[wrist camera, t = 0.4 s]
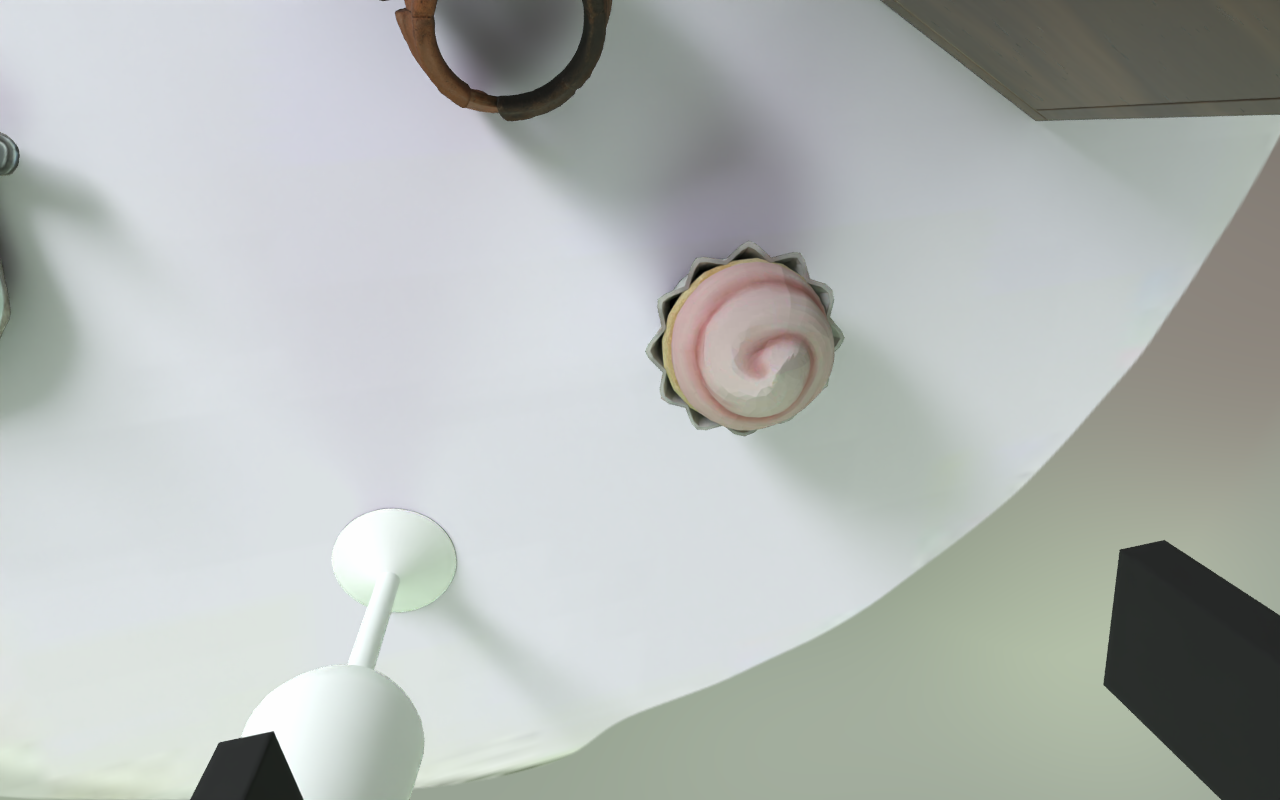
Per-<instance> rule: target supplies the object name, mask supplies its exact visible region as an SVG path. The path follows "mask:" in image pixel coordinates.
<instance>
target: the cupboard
mask: <svg viewBox="0 0 1280 800" xmlns="http://www.w3.org/2000/svg"><path fill="white" fill-rule="evenodd" d="M881 1H882V2H883V3H885V4H886V5H887V6H889V7H890V8H891V9H892V10H894V11H895V12H896V13H898V14H899V15H900V16H901V17H903V18H904V19H905V20H907V21H908V22H909V23H910V24H912V25H913V26H914V27H916V28H917V29H918V30H919V31H921V32H922V33H923V34H925V35H926V36H927V37H928V38H930V39H931V40H932V41H934V42H935V43H936V44H937V45H939V46H940V47H941V48H943V49H944V50H945V51H946V52H948V53H949V54H950V55H952V56H953V57H954V58H956V59H957V60H958V61H959V62H961V63H962V64H963V65H965V66H966V67H967V68H968V69H970V70H971V71H972V72H974V73H975V74H976V75H977V76H979V77H980V78H981V79H983V80H984V81H985V82H986V83H988V84H989V85H990V86H992V87H993V88H994V89H995V90H997V91H998V92H999V93H1001V94H1002V95H1003V96H1004V97H1006V98H1007V99H1008V100H1010V101H1011V102H1012V103H1014V104H1015V105H1016V106H1017V107H1019V108H1020V109H1021V110H1023V111H1024V112H1025V113H1026V114H1028V115H1029V116H1030V117H1032V118H1033V119H1034V120H1035V121H1048V120H1049V121H1055V120H1093V119H1131V118H1169V117H1207V116H1244V115H1280V0H881Z"/></svg>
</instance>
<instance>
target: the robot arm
mask: <svg viewBox="0 0 1280 800" xmlns="http://www.w3.org/2000/svg"><path fill="white" fill-rule="evenodd" d="M1104 686H1105V687H1106V688H1107V689H1108V690H1109V691H1110V692H1111V693H1113V694H1114V695H1115V696H1116V697H1117V698H1118V699H1119V700H1120V701H1121V702H1122V703H1123V704H1124V705H1125V706H1126V707H1127V708H1128V709H1129V710H1130V711H1131V712H1132V713H1133V714H1134V715H1135V716H1136V717H1137V718H1138V719H1139V720H1141V722H1142V723H1143V724H1144V725H1145V726H1146V727H1147V728H1149V729H1150V731H1152V732H1153V733H1154V734H1155V735H1156V736H1157V737H1158V738H1159V739H1160V740H1161V741H1162V742H1163V743H1164V744H1165V745H1166V746H1167V747H1168V748H1169V749H1170V750H1171V751H1172V752H1173V753H1174V754H1175V755H1176V756H1177V757H1178V758H1179V759H1180V760H1181V761H1182V762H1183V763H1184V764H1185V765H1186V766H1187V767H1188V768H1189V769H1190V770H1191V771H1193V773H1194V774H1196V775H1197V776H1198V777H1199V778H1200V779H1201V780H1202V781H1203V782H1204V783H1205V784H1206V785H1207V786H1208V787H1209V788H1210V789H1211V790H1212V791H1213V792H1214V793H1215V794H1216V795H1217V796H1218V797H1219V798H1220V799H1221V800H1280V615H1278V614H1277V613H1275V612H1274V611H1272V610H1270V609H1269V608H1268V607H1266V606H1264V605H1263V604H1261V603H1260V602H1258V601H1257V600H1255V599H1254V598H1252V597H1251V596H1249V595H1248V594H1246V593H1244V592H1243V591H1241V590H1240V589H1238V588H1237V587H1235V586H1234V585H1232V584H1231V583H1229V582H1228V581H1226V580H1225V579H1223V578H1222V577H1220V576H1218V575H1217V574H1216V573H1214V572H1212V571H1211V570H1209V569H1208V568H1206V567H1205V566H1203V565H1202V564H1200V563H1199V562H1197V561H1195V560H1194V559H1193V558H1191V557H1189V556H1188V555H1186V554H1185V553H1183V552H1182V551H1180V550H1179V549H1177V548H1176V547H1174V546H1173V545H1171V544H1169V543H1168V542H1166V541H1165V540H1163V541H1158V542H1154V543H1149V544H1144V545H1140V546H1135V547H1130V548H1126V549H1121V550H1120V553H1119V560H1118V569H1117V577H1116V585H1115V594H1114V603H1113V610H1112V619H1111V627H1110V635H1109V643H1108V652H1107V661H1106V668H1105V676H1104ZM190 800H304V799H303V797H302V795H301V792H300V790H299V788H298V785H297V783H296V781H295V779H294V776H293V774H292V772H291V769H290V767H289V765H288V763H287V760H286V758H285V756H284V753H283V751H282V749H281V747H280V744H279V742H278V740H277V737H276V735H275V733H274V731H271V732H266V733H262V734H257V735H252V736H248V737H243V738H238V739H234V740H229V741H224V742H220V743H219V744H218V746H217V748H216V750H215V752H214V754H213V756H212V758H211V760H210V762H209V764H208V766H207V768H206V770H205V772H204V774H203V776H202V777H201V779H200V781H199V783H198V785H197V787H196V789H195V791H194V793H193V795H192V797H191V799H190Z"/></svg>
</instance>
